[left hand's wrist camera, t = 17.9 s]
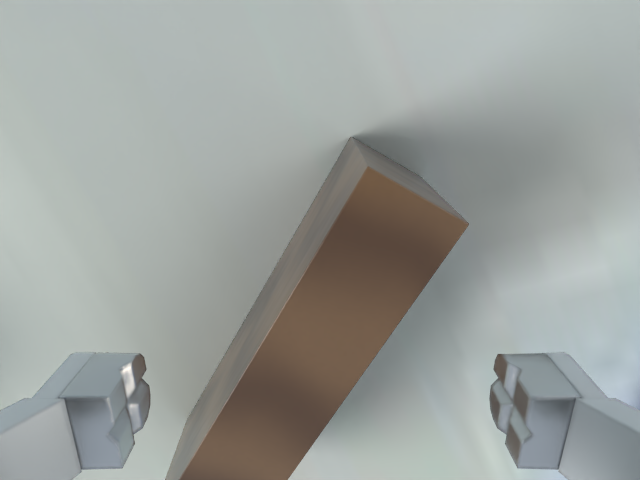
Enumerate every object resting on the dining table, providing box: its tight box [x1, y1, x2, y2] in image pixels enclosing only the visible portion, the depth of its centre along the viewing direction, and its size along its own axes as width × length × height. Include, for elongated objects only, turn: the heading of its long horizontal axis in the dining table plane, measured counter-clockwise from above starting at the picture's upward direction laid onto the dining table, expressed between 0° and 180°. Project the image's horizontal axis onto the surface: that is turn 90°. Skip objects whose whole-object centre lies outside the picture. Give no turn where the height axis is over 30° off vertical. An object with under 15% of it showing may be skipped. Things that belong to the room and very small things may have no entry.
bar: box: [165, 137, 469, 480], centre depth 26 cm, size 24×5×9 cm, turn 151°
